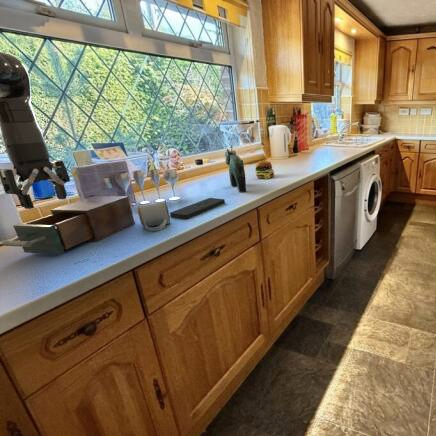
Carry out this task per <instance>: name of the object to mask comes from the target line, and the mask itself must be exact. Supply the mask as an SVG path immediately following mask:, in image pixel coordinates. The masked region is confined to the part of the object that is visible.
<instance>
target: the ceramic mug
mask: <svg viewBox="0 0 436 436" xmlns="http://www.w3.org/2000/svg"><path fill="white" fill-rule="evenodd" d="M137 213H138V218H139V221H140V225H142V226H143V227H144V228H145V229H146V230H147V231H148V232H158V231H161V230H163V229H164V228H165V227H166V225H168V224H171V222H172V221H171V216H170V212H169V208H168V204H167V202H166V200H164V201H160V202H156V201H154V202H150V203H146V204H141V205H139V207H137Z"/></svg>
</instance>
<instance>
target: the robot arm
mask: <svg viewBox="0 0 436 436" xmlns="http://www.w3.org/2000/svg"><path fill="white" fill-rule="evenodd" d="M31 91H32V90H31V79H30V74H29V72H28V69H27V68H26V66H25V64H24V63H23V62H22V60H20V59H19V58H17V57H16V56H14V55H12V54H9V53H6V52H1V51H0V138H1V141H2V144H3V147H4V149H5V152H6V154H7V157H8V159H9V161H10V162H11V163H12V168H0V181H1V185H2V187H3V191H4V193H5V194H6V195H16V196H17V198H18V201H19V203H20V206H21V208H23V209H25V210H32V209H34V208H35V206H34V203H33V201H32V197H31V194H29V190H30V188H31V187H33V185H34V184H35V183H39V182H41V181H47V182H49V183H51V184H52V185H53V189H54V192H55V195H56V198H57V199H58V200H66V199H67V196H68V193H67V191H66V187H65V184H66V183H69V182H70V181H71V178H70V174H69V172H68V170H67V167H66V164H65V162H64V160H51V159H50V158H51V155H50V153H49V150H48V146H47V144H46V140H45V137H44V135H43V132H42V130H41V127H40V125H39V123H38V121H37V118H36V115H35V112H34V108H33V107H32V99H31V98H32V92H31ZM53 170H54V172H53ZM16 176H18V177H17V179H16V178H15V177H16Z"/></svg>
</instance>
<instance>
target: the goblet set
mask: <svg viewBox="0 0 436 436" xmlns="http://www.w3.org/2000/svg"><path fill="white" fill-rule="evenodd" d="M148 174H149V178H150V180H151V181H152V183H153V184H154V186H155V188H156V190H157V194H158V199H155V200H154V202H160V201H166V199H165V198H161V195H160V189H159V184H160V179H161V176H160V172H159V169H157V168H153V169H149V171H148ZM129 175H130V173H129V174H128V172H121V174H114V180H115V182H116V184H117V185H118V186H119V187H120V188H121V189H122V190H123V191H124V192H125V195H126V196H127V188H128V186H129V184H130V179H131V176H130V177H129ZM132 177H133V181H134V182H135V184H136V185H137V187H139V189H140V191H141V194H142V198H143V200H142V201H139V204H140V205H145V204H150V203H151V201H150V200H146V199H145V195H144V183H145V175H144V172H143V170H142V169H137V170H133V171H132ZM162 179H163V181H164V182H165V183H167V184H168V185H169V186H170V188H171V189H172V192H173V196H172V197H170V198H169V197H168V200H169V201H176V200H180V199H182V197H181V196H176V194H175V184H176V183H177V181H179V174H178V172H177V171H176V169H166V170H163V171H162ZM103 182H104V185H105V187H106V188H108V189H110V188H112V186H113V182H112V180H111V178H110V177H109V178H104V179H103ZM135 205H136V202H133V203H130V207H131V206H135Z"/></svg>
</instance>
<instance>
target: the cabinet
mask: <svg viewBox="0 0 436 436" xmlns="http://www.w3.org/2000/svg"><path fill="white" fill-rule="evenodd" d="M58 212H63V213H86V215H87V218H88V221H89V224H90V227H91V230H92V233H93V236H94V237H93V238H91V239H88V240H86V241H85V242H96V243H97V242H100V241H102V240H104V239H106V238H108V237H110V236H112V235H115V234H117V233H119V232H121V231H123V230H125V229H127V228H129V227H131V226H134V225H136V222H135V217H134V215H133V211H132V207H131V206H130V203H129V199H128V196H93V197H90V198H86V199H83V200H80V199H79V200H77V201H74V202H71V203H67V204H64V205H61V206H57V207H55V208H51V209H50V213H51V215H52V214H55V213H58Z"/></svg>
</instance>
